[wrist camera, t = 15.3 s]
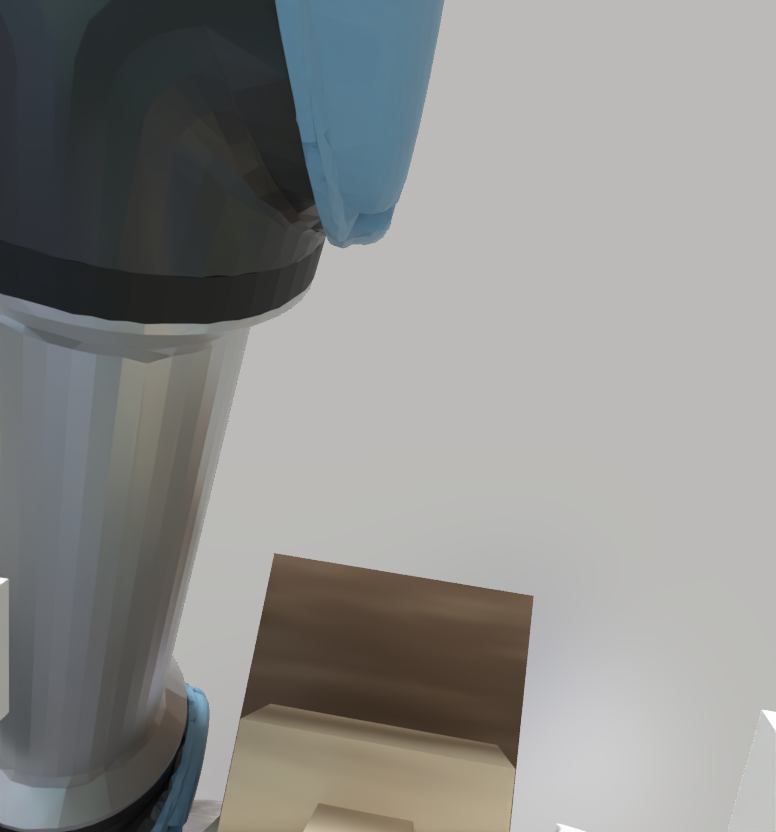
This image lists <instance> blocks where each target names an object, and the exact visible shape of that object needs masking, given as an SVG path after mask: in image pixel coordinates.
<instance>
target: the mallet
mask: <svg viewBox="0 0 776 832" xmlns="http://www.w3.org/2000/svg"><path fill="white" fill-rule="evenodd" d="M515 770H516V769H515V768H514V767H513V765H512V764H511V763H510V761H509V760H508V759H507V757H506V756H505V755H504V753H503V752H502V751H501V749H500V748H499V747H498V745H494V744H489V743H483V742H478V741H472V740H467V739H461V738H456V737H450V736H445V735H439V734H434V733H428V732H423V731H417V730H412V729H406V728H401V727H395V726H390V725H384V724H379V723H373V722H368V721H362V720H357V719H351V718H346V717H340V716H335V715H330V714H324V713H319V712H313V711H308V710H302V709H297V708H291V707H286V706H280V705H275V704H269V705H267V706H265V707H263V708H261V709H259V710H257V711H255V712H253V713H251V714H249V715H247V716H245V717H243V718H241V719H240V724H239V729H238V734H237V739H236V744H235V748H234V753H233V758H232V763H231V768H230V773H229V777H228V782H227V787H226V792H225V797H224V801H223V806H222V811H221V816H220V821H219V826H218V830H217V832H509V829H510V819H511V809H512V799H513V789H514V780H515Z"/></svg>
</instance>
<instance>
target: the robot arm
mask: <svg viewBox="0 0 776 832" xmlns="http://www.w3.org/2000/svg"><path fill="white" fill-rule="evenodd" d="M443 4H444V0H0V832H182V827H183V825H184V824H185V823H186V822H187V819H188V816H189V813H190V811H191V808H192V804H193V801H194V797H195V794H196V790H197V786H198V782H199V778H200V774H201V769H202V765H203V760H204V754H205V749H206V742H207V735H208V727H209V704H208V701H207V699H206V696H205V694H204V692H203V691H202V690H200V689H199V688H197V687H193V686H189V684H187V683H185V681H184V678H183V674H182V672H181V670H180V668H179V666H178V664H177V662H176V661H175V659H174V657H173V656H172V653H173V649H174V645H175V640H176V636H177V632H178V628H179V624H180V619H181V615H182V610H183V607H184V602H185V598H186V594H187V590H188V585H189V581H190V577H191V573H192V569H193V565H194V560H195V556H196V552H197V548H198V544H199V539H200V535H201V531H202V527H203V523H204V519H205V514H206V510H207V506H208V502H209V497H210V493H211V489H212V485H213V481H214V477H215V473H216V468H217V464H218V460H219V456H220V451H221V447H222V443H223V439H224V435H225V430H226V426H227V422H228V418H229V414H230V410H231V405H232V401H233V397H234V393H235V388H236V385H237V380H238V376H239V372H240V368H241V363H242V359H243V355H244V351H245V346H246V343H247V338H248V334H249V330H250V327H251V326H254V325H257V324H259V323H262V322H264V321H267V320H270V319H272V318H274V317H277V316H279V315H281V314H282V313H284V312H286V311H288V310H289V309H291V308H292V307H293V306H295V305H296V304H297V303H298V302H299V301H301V300H302V298H303V297H304V296H305V294H306V293H307V292H308V290H309V289H310V286H311V283H312V280H313V278H314V275H315V272H316V269H317V265H318V262H319V258H320V254H321V251H322V248H323V244H324V241H325V237H326V236H327V238H328V241H329V242H330V243H331V244H332V245H334V246H338V247H341V248H346V247H348V246H350V245H352V244H362V245H367V244H371V243H375V242H377V241H378V240H380V239H381V238H383V236H384V235H385V233H386V231H387V230H388V229H389V227H390V224H391V219H392V215H393V212H394V208H395V205H396V203H397V202H398V200H399V198H400V195H401V192H402V189H403V186H404V183H405V181H406V178H407V174H408V170H409V166H410V162H411V159H412V154H413V150H414V146H415V142H416V138H417V134H418V130H419V126H420V121H421V117H422V112H423V107H424V102H425V98H426V93H427V88H428V83H429V78H430V74H431V68H432V63H433V58H434V53H435V48H436V43H437V37H438V32H439V27H440V21H441V16H442V9H443ZM727 832H776V712H772V711H766V710H762V711H761V714H760V718H759V721H758V724H757V728H756V731H755V735H754V739H753V742H752V746H751V749H750V753H749V756H748V759H747V763H746V767H745V770H744V773H743V777H742V780H741V784H740V787H739V791H738V794H737V797H736V801H735V805H734V808H733V811H732V815H731V818H730V822H729V825H728V829H727Z"/></svg>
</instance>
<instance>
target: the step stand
mask: <svg viewBox="0 0 776 832" xmlns="http://www.w3.org/2000/svg"><path fill="white" fill-rule="evenodd" d="M532 606H533V596H530V595H524V594H517V593H511V592H505V591H499V590H493V589H486V588H481V587H475V586H469V585H463V584H457V583H451V582H445V581H438V580H433V579H426V578H420V577H414V576H408V575H402V574H396V573H390V572H384V571H378V570H372V569H366V568H360V567H354V566H347V565H341V564H335V563H329V562H323V561H317V560H311V559H305V558H299V557H293V556H287V555H280V554H274V559H273V563H272V568H271V573H270V577H269V582H268V587H267V592H266V597H265V601H264V606H263V611H262V616H261V621H260V626H259V630H258V635H257V641H256V645H255V650H254V655H253V659H252V664H251V669H250V674H249V679H248V683H247V688H246V694H245V698H244V703H243V707H242V713H241V717H240V719H241V718H243V717H245V716H247V715H249V714H251V713H253V712H255V711H257V710H259V709H261V708H263V707H265V706H267V705H269V704H275V705H280V706H286V707H291V708H297V709H302V710H308V711H313V712H319V713H324V714H330V715H335V716H340V717H346V718H351V719H357V720H362V721H368V722H373V723H379V724H384V725H390V726H395V727H401V728H406V729H412V730H417V731H423V732H428V733H434V734H439V735H445V736H450V737H456V738H461V739H467V740H472V741H478V742H483V743H489V744H494V745H498V747H499V748H500V749H501V751H502V752H503V753H504V755H505V756H506V757H507V759H508V760H509V761H510V763H511V764H512V765H513V767H514V768H515V769H516V765H517V764H516V763H517V754H518V745H519V735H520V724H521V715H522V705H523V695H524V685H525V675H526V665H527V655H528V646H529V635H530V625H531V615H532ZM239 724H240V722H239ZM238 729H239V727H238ZM237 734H238V732H237ZM236 739H237V736H236ZM235 744H236V741H235ZM234 748H235V746H234ZM233 753H234V751H233ZM232 758H233V756H232ZM231 763H232V760H231ZM230 768H231V766H230ZM229 773H230V770H229ZM515 775H516V770H515ZM228 777H229V775H228ZM227 782H228V780H227ZM514 784H515V780H514ZM226 787H227V785H226ZM225 792H226V789H225ZM513 794H514V789H513ZM224 797H225V794H224ZM223 801H224V799H223ZM512 804H513V799H512ZM222 806H223V804H222ZM221 811H222V809H221ZM511 814H512V809H511ZM220 816H221V813H220ZM220 816H219V817H218V818H217V819H216V820H215V821H214V822H213V823H212V824H211V825H210V826H209V827H208V828H207V829H206V830H204V831H203V832H217V830H218V826H219V821H220ZM510 824H511V819H510ZM509 832H510V829H509Z"/></svg>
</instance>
